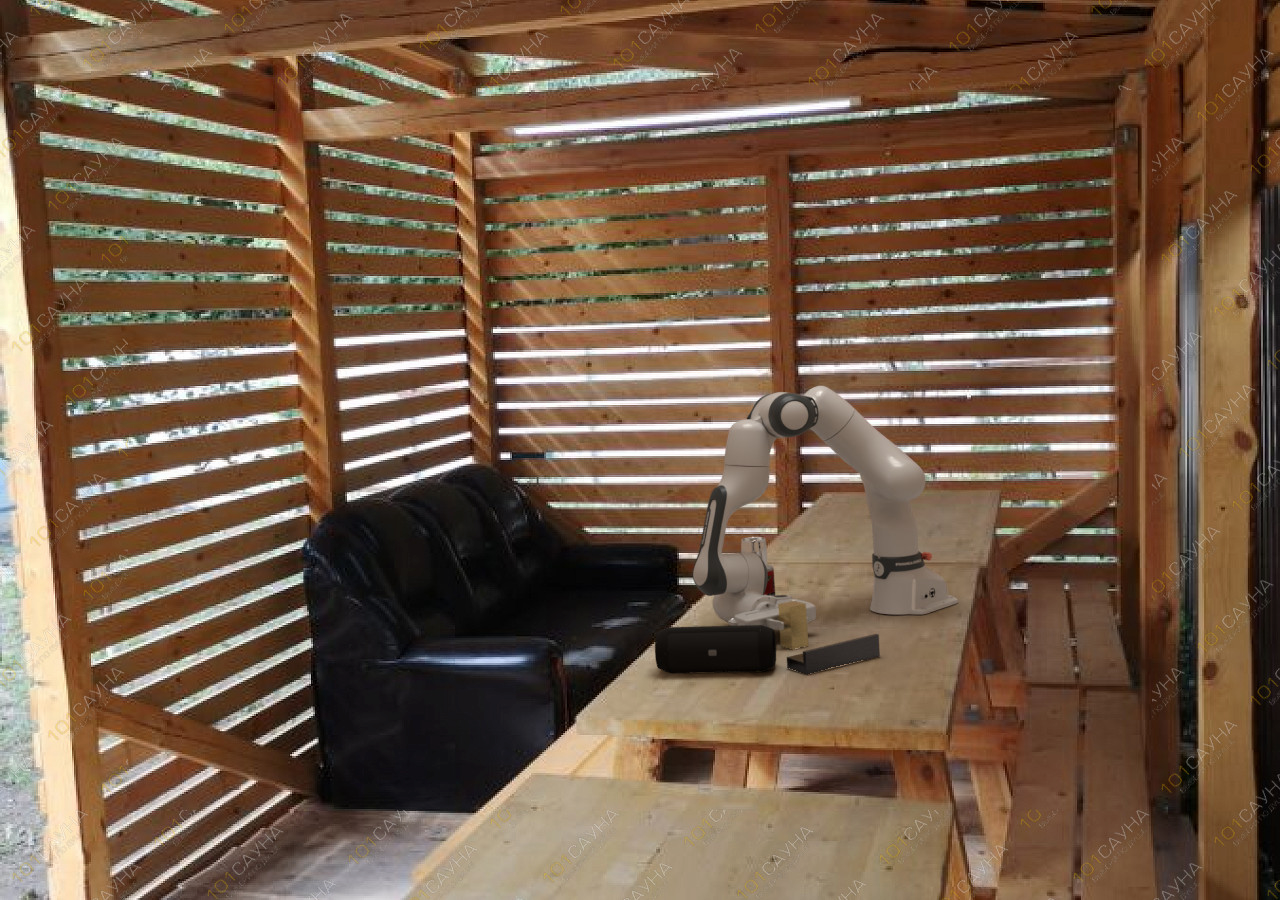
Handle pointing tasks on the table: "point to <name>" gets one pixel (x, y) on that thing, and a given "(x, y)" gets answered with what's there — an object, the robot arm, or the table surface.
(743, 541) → the beer glass
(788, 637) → the wooden block
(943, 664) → the table surface
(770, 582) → the canned food
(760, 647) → the portable speaker
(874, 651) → the rail
